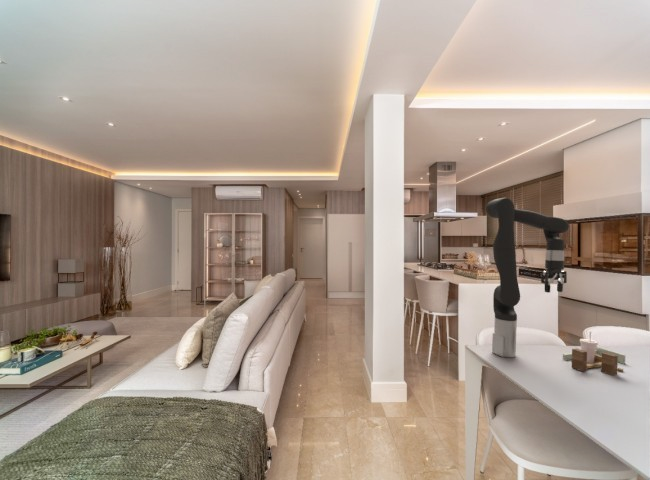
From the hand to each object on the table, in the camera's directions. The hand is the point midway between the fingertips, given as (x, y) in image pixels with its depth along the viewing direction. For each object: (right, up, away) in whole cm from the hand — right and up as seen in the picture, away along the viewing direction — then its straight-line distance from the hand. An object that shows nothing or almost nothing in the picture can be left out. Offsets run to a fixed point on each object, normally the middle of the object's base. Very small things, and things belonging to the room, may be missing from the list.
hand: (553, 292), depth 152 cm
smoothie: (+8, -31, -11) cm, 33 cm away
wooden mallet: (+3, -30, -14) cm, 33 cm away
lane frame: (+11, -31, -10) cm, 34 cm away
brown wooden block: (+10, -31, -22) cm, 39 cm away
